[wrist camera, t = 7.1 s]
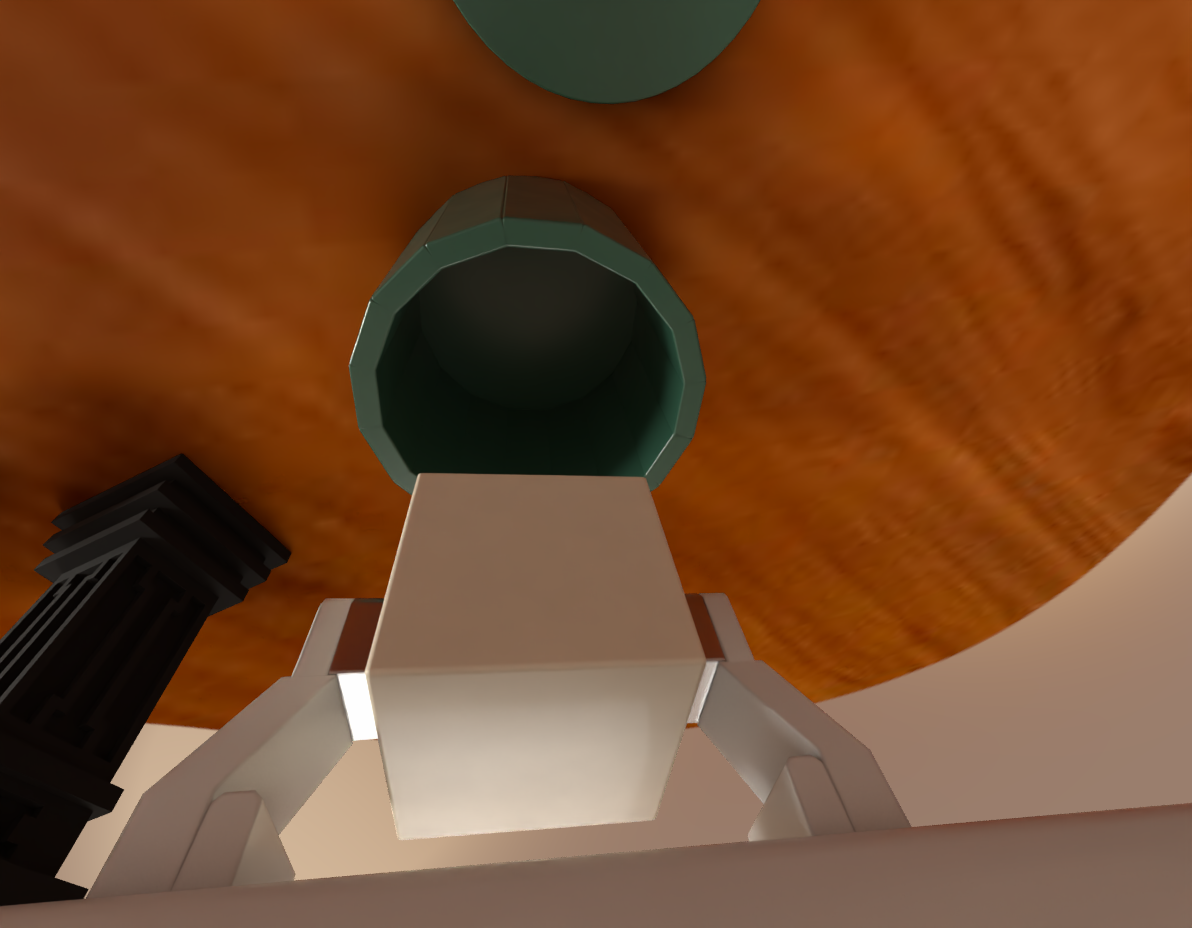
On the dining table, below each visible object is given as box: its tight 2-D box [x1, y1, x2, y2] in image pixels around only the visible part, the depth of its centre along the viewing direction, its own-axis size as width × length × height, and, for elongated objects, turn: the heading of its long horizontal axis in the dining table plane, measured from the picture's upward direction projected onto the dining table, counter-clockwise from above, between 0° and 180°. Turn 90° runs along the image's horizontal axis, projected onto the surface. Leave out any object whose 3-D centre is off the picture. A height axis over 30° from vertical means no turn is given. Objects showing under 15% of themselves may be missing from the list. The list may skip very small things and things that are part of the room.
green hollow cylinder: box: [349, 175, 706, 495], centre depth 22 cm, size 12×12×10 cm
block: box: [365, 473, 706, 840], centre depth 10 cm, size 4×4×4 cm
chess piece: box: [0, 454, 291, 906], centre depth 23 cm, size 8×8×20 cm
